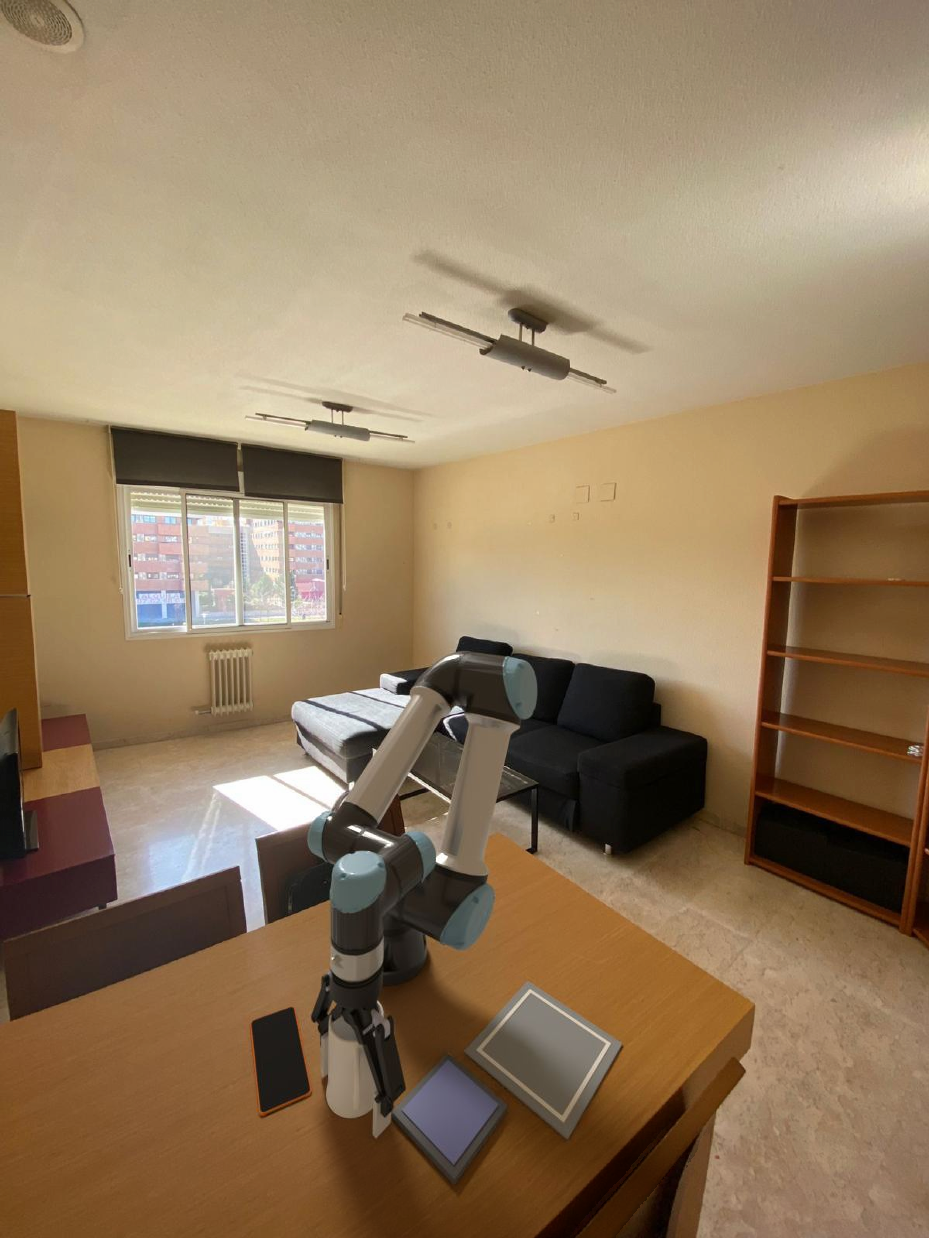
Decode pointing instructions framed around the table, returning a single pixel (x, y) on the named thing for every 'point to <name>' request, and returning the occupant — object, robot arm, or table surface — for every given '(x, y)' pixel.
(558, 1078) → the print mat
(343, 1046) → the mug
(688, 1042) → the table surface
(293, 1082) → the smartphone
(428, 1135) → the ink pad
